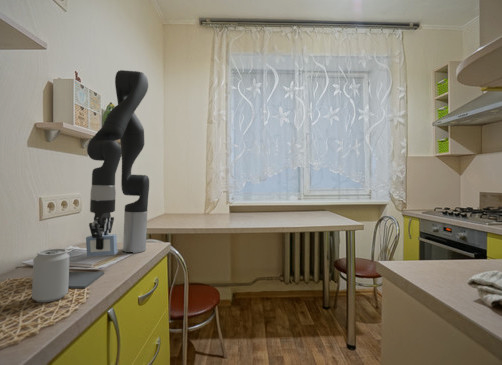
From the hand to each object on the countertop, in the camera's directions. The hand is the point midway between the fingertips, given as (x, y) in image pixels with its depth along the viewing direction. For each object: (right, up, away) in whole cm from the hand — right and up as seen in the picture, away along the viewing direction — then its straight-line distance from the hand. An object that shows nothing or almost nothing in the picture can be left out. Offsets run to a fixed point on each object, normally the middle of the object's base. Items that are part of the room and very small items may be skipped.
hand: (101, 247), depth 92 cm
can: (0, -7, -24) cm, 25 cm away
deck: (0, -2, 0) cm, 2 cm away
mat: (-3, -7, -12) cm, 14 cm away
